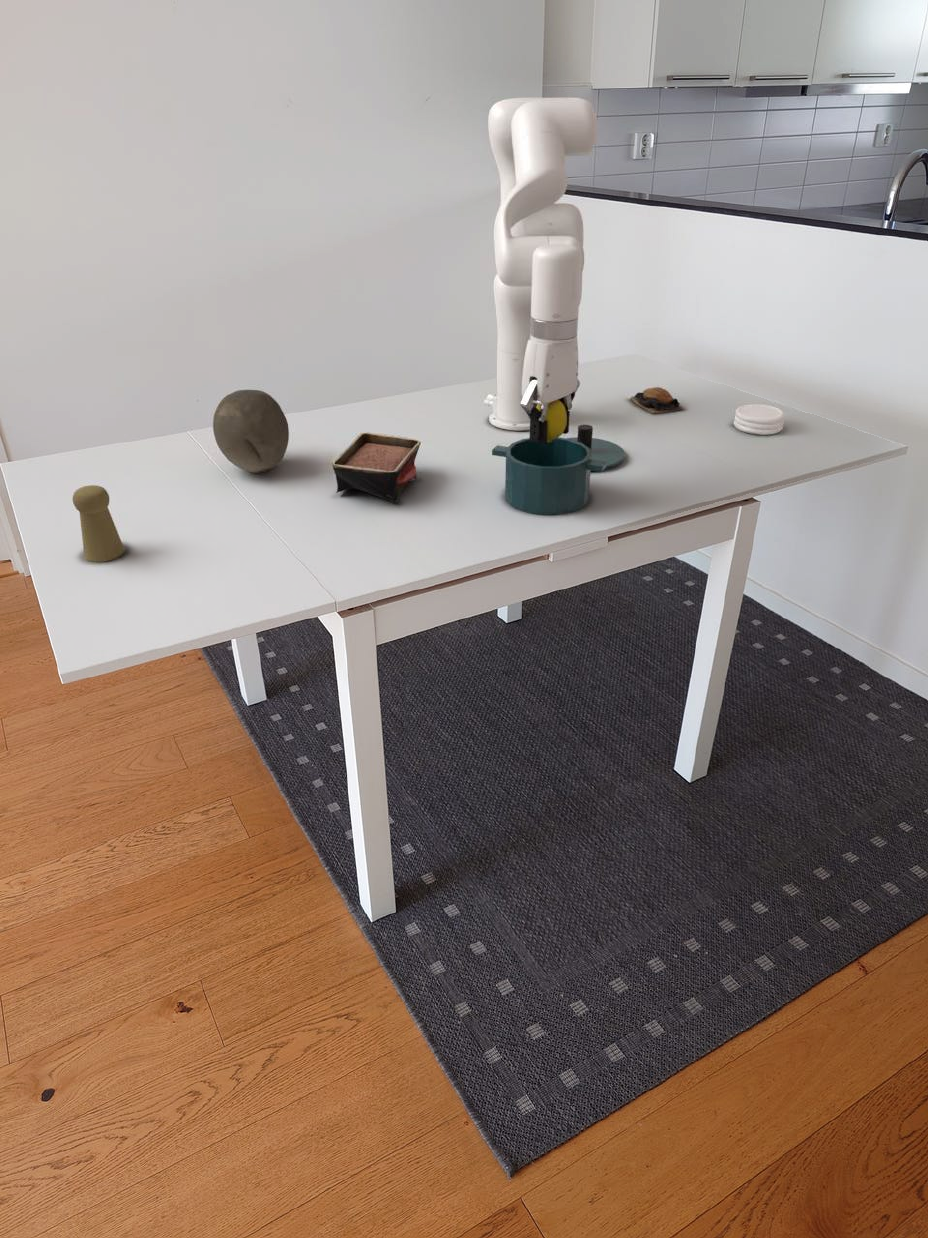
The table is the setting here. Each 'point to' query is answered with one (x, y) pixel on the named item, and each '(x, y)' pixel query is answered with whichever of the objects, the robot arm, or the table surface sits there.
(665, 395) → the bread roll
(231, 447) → the grey river stone
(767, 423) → the white round flat cylinder
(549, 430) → the lemon
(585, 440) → the pot lid
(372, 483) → the square planter
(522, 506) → the pot
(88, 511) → the cork
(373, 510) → the table surface
